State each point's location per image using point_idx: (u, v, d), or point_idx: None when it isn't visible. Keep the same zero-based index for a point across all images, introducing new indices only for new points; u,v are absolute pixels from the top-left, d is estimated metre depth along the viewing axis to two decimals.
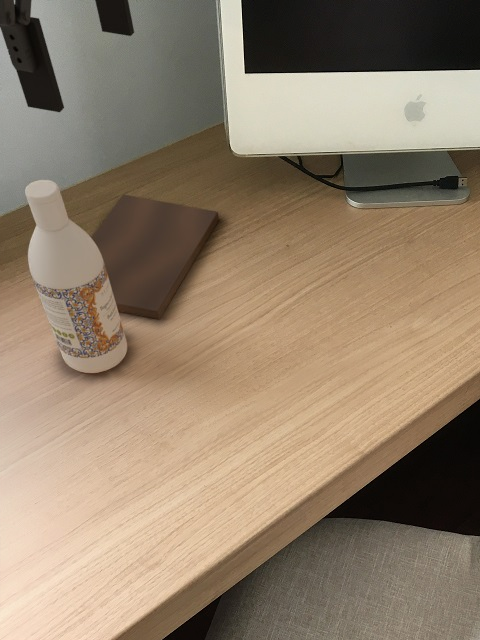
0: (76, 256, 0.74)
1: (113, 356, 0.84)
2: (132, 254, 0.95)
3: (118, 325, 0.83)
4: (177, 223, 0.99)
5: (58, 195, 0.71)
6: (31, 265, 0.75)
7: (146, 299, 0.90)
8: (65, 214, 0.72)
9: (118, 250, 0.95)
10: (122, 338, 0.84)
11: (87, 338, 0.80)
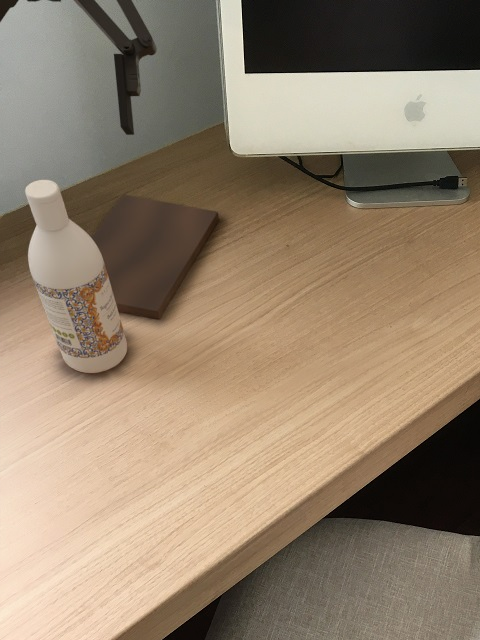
0: (76, 256, 0.74)
1: (113, 356, 0.84)
2: (132, 254, 0.95)
3: (118, 325, 0.83)
4: (177, 223, 0.99)
5: (58, 195, 0.71)
6: (31, 265, 0.75)
7: (146, 299, 0.90)
8: (65, 214, 0.72)
9: (118, 250, 0.95)
10: (122, 338, 0.84)
11: (87, 338, 0.80)
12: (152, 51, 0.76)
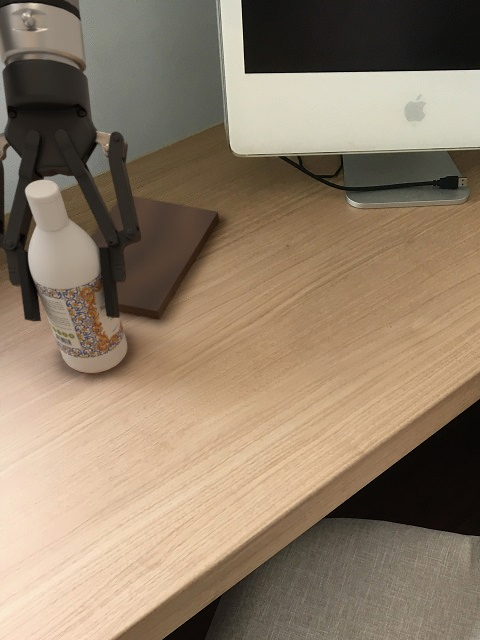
0: (76, 256, 0.74)
1: (113, 356, 0.84)
2: (132, 254, 0.95)
3: (118, 325, 0.83)
4: (177, 223, 0.99)
5: (58, 195, 0.71)
6: (31, 265, 0.75)
7: (146, 299, 0.90)
8: (65, 214, 0.72)
9: None
10: (122, 338, 0.84)
11: (87, 338, 0.80)
12: (135, 241, 0.78)
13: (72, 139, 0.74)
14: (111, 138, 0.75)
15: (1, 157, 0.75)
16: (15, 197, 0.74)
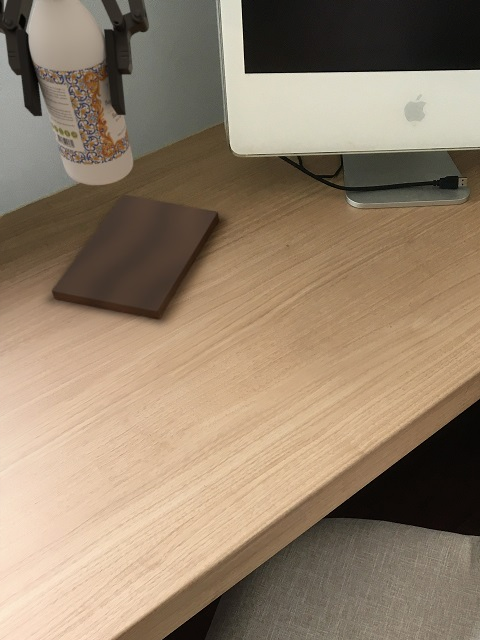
0: (79, 32, 0.69)
1: (118, 166, 0.79)
2: (132, 254, 0.95)
3: (124, 131, 0.78)
4: (177, 223, 0.99)
5: None
6: (32, 44, 0.70)
7: (146, 299, 0.90)
8: None
9: (118, 250, 0.95)
10: (128, 148, 0.80)
11: (91, 139, 0.76)
12: (142, 28, 0.73)
13: None
14: None
15: None
16: None
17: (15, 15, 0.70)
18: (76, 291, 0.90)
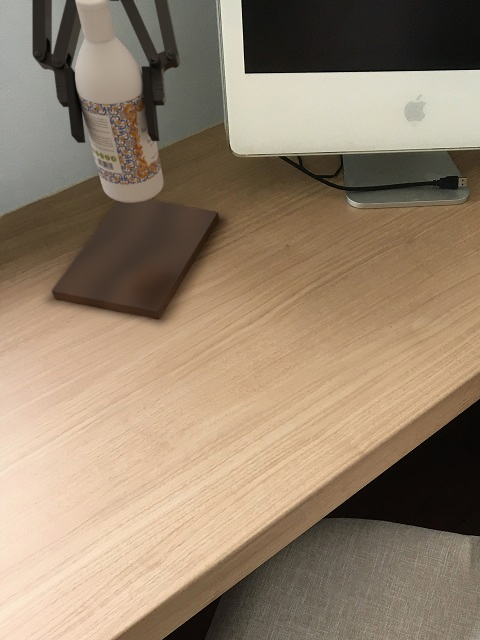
0: (121, 70, 0.78)
1: (151, 186, 0.89)
2: (132, 254, 0.95)
3: (156, 154, 0.87)
4: (177, 223, 0.99)
5: (106, 4, 0.75)
6: (78, 80, 0.79)
7: (146, 299, 0.90)
8: (111, 26, 0.77)
9: (118, 250, 0.95)
10: (159, 169, 0.89)
11: (128, 162, 0.85)
12: (174, 64, 0.82)
13: None
14: None
15: None
16: (63, 16, 0.79)
17: (63, 55, 0.80)
18: (76, 291, 0.90)
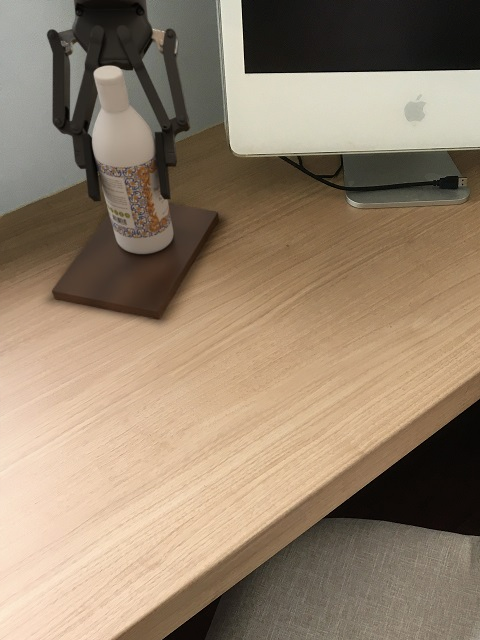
0: (135, 136, 0.84)
1: (162, 238, 0.94)
2: (132, 254, 0.95)
3: (167, 209, 0.93)
4: (177, 223, 0.99)
5: (122, 78, 0.81)
6: (95, 145, 0.85)
7: (146, 299, 0.90)
8: (127, 97, 0.83)
9: (118, 250, 0.95)
10: (170, 223, 0.95)
11: (141, 218, 0.91)
12: (185, 129, 0.88)
13: (131, 35, 0.85)
14: (165, 34, 0.85)
15: (69, 51, 0.85)
16: (81, 86, 0.85)
17: (81, 122, 0.85)
18: (76, 291, 0.90)
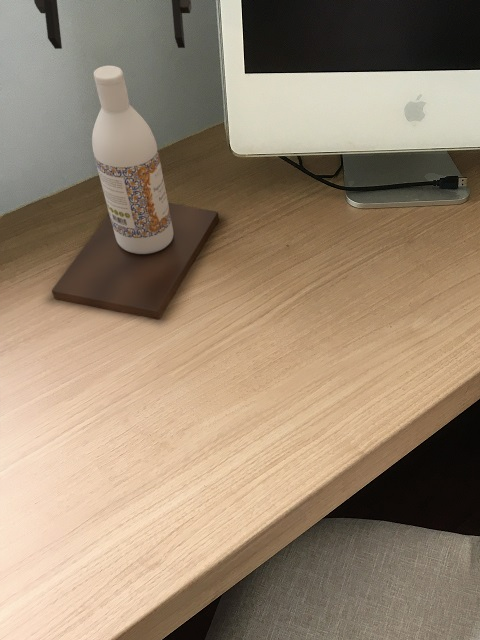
0: (135, 136, 0.84)
1: (162, 238, 0.94)
2: (132, 254, 0.95)
3: (167, 209, 0.93)
4: (177, 223, 0.99)
5: (122, 78, 0.81)
6: (95, 145, 0.85)
7: (146, 299, 0.90)
8: (127, 97, 0.83)
9: (118, 250, 0.95)
10: (170, 223, 0.95)
11: (141, 218, 0.91)
12: None
13: None
14: None
15: None
16: None
17: None
18: (76, 291, 0.90)
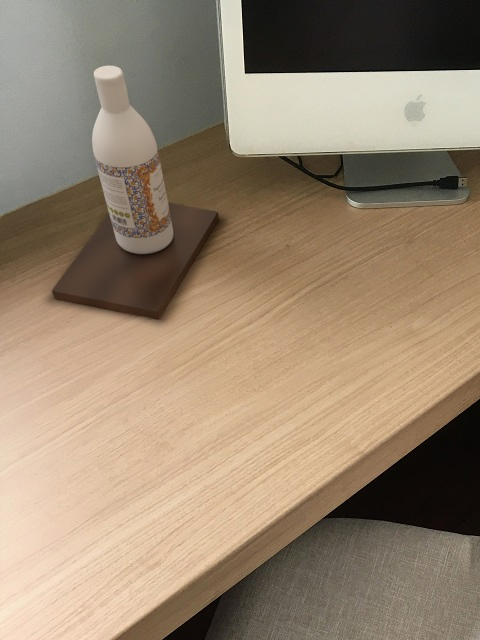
0: (135, 136, 0.84)
1: (162, 238, 0.94)
2: (132, 254, 0.95)
3: (167, 209, 0.93)
4: (177, 223, 0.99)
5: (122, 78, 0.81)
6: (95, 145, 0.85)
7: (146, 299, 0.90)
8: (127, 97, 0.83)
9: (118, 250, 0.95)
10: (170, 223, 0.95)
11: (141, 218, 0.91)
12: None
13: None
14: None
15: None
16: None
17: None
18: (76, 291, 0.90)
